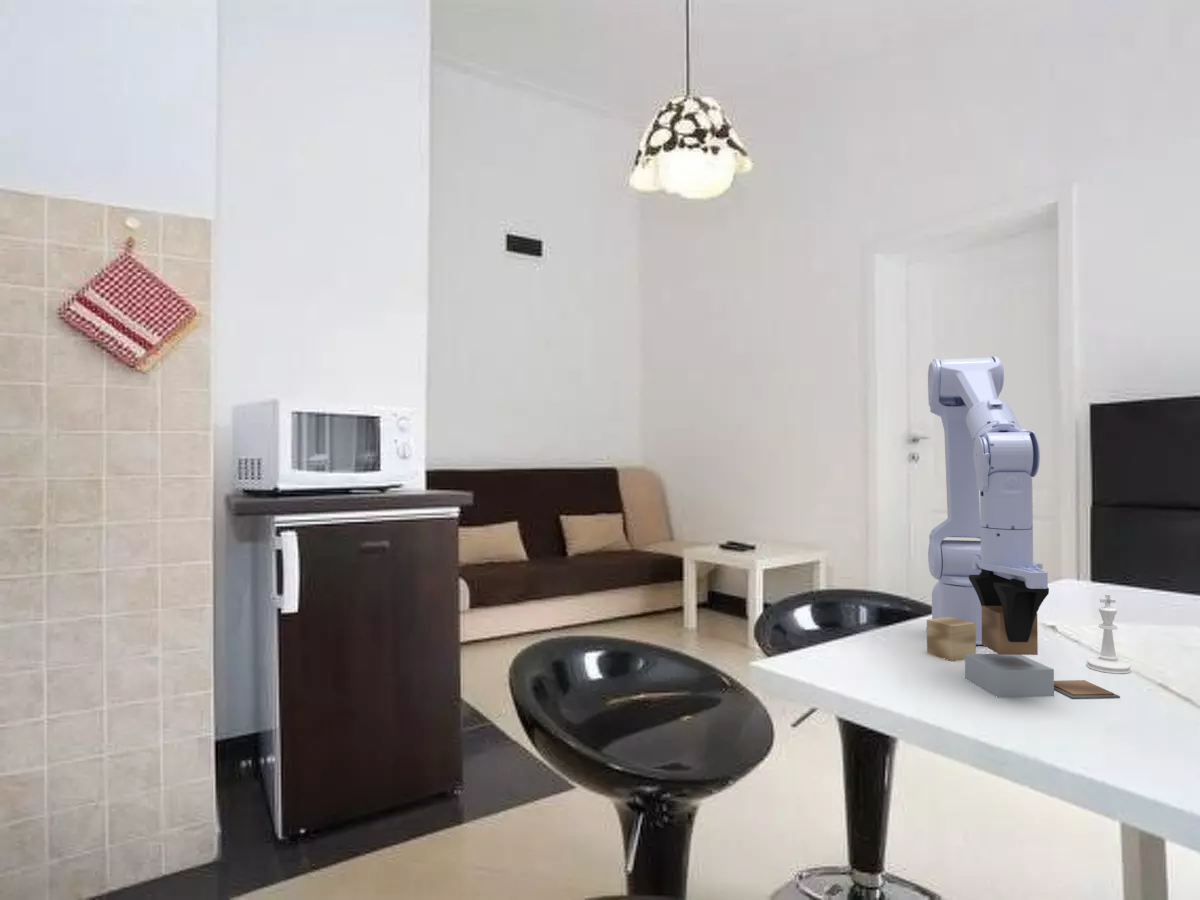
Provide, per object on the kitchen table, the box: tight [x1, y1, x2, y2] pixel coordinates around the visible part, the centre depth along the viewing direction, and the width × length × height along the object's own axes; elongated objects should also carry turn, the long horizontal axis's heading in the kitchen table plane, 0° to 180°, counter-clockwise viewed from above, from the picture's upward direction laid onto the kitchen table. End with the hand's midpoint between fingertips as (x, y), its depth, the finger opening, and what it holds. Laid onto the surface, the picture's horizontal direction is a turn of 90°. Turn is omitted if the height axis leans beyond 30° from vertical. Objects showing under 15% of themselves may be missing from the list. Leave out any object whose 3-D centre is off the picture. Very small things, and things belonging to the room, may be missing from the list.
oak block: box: [926, 617, 977, 662], centre depth 103 cm, size 4×4×5 cm
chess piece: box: [1085, 593, 1132, 675], centre depth 97 cm, size 5×5×10 cm
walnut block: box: [982, 606, 1039, 656], centre depth 89 cm, size 4×4×5 cm
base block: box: [964, 653, 1055, 698], centre depth 89 cm, size 7×7×4 cm
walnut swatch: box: [1054, 679, 1121, 700], centre depth 88 cm, size 6×6×1 cm
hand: (1007, 636), depth 89 cm, fingers closed on walnut block, 4 cm apart
